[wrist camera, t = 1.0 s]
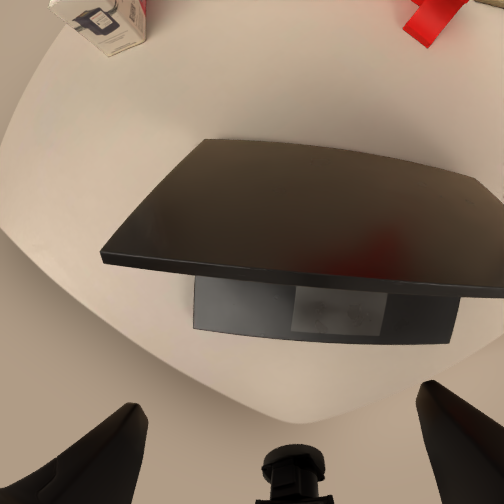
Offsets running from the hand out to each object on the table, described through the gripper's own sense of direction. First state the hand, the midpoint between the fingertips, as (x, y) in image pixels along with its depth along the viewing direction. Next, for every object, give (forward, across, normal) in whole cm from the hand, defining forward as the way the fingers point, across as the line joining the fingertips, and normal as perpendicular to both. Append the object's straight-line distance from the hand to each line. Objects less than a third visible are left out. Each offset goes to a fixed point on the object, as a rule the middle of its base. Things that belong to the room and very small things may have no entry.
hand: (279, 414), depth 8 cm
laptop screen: (+10, -6, -4) cm, 12 cm away
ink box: (+24, +13, -26) cm, 37 cm away
